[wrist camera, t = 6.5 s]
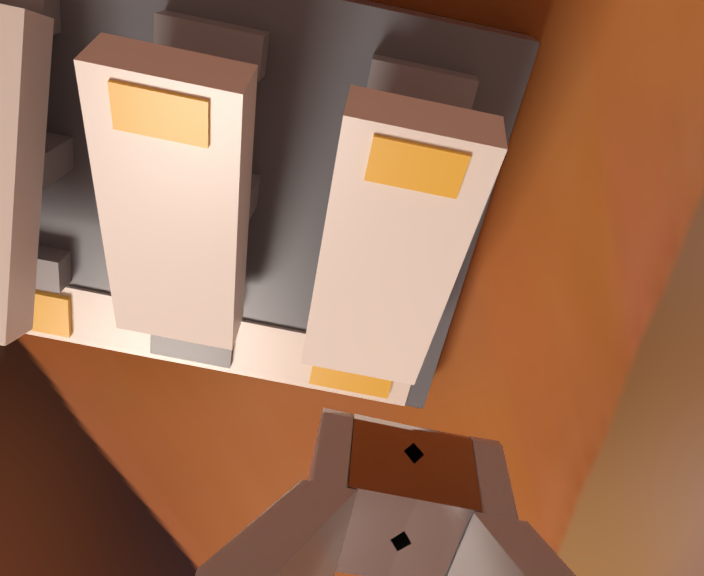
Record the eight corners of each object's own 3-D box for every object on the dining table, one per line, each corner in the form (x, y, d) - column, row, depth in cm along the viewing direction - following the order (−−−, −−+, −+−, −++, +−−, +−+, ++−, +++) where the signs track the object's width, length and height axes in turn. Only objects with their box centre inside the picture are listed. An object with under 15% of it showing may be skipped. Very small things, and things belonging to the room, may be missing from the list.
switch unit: (-73, -94, 24) (-169, -102, 20) (530, 35, 25) (555, 53, 21) (-22, 298, 33) (-80, 348, 29) (421, 384, 34) (424, 444, 30)
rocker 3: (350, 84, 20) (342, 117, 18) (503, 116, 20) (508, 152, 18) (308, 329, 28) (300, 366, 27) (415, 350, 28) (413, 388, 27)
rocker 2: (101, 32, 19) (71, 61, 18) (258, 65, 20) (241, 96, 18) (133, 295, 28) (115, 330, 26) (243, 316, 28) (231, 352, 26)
